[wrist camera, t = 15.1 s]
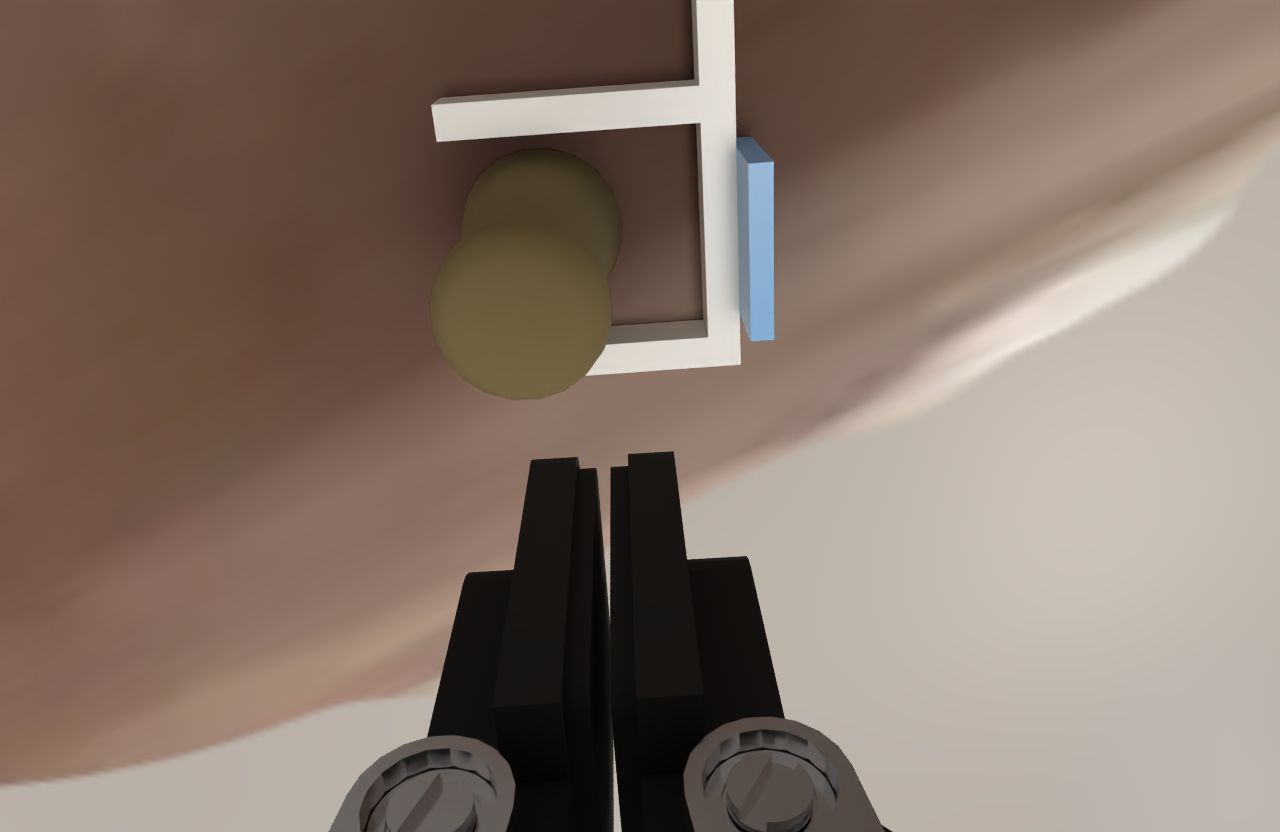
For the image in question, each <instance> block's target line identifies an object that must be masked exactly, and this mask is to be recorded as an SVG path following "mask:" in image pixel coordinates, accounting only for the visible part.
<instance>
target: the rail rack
mask: <svg viewBox="0 0 1280 832" xmlns="http://www.w3.org/2000/svg"><path fill="white" fill-rule="evenodd" d="M691 3H692V30H693V57H694V80H680V81H666V82H652V83H638V84H624V85H610V86H596V87H583V88H569V89H555V90H541V91H527V92H513V93H499V94H485V95H472V96H458V97H444V98H440V99H438V100H437V101H436V102H434V103H433V104H432V105H431V108H432V114H433V121H434V127H435V133H436V140H437V142H441V141H455V140H469V139H483V138H497V137H511V136H525V135H538V134H552V133H566V132H580V131H594V130H608V129H622V128H636V127H649V126H663V125H677V124H691V123H696V137H697V164H698V191H699V218H700V245H701V271H702V298H703V320H689V321H675V322H661V323H647V324H634V325H620V326H611V329H610V333H609V336H608V339H607V343H606V346H605V349H604V351H603V352H602V354H601V355H600V356H599V358H598V359H597V361H596V362H595V363H594V365H593V366H592V368H591V369H590V370H589V372H588V373H587V374H586V375H585V376H588V375H602V374H616V373H630V372H644V371H658V370H671V369H685V368H699V367H713V366H727V365H741V362H740V315H741V317H742V320H743V323H744V325H745V328H746V330H747V333H748V336H749V338H750V341H763V340H774V162H773V160H772V159H771V158H770V157H769V156H768V155H767V154H766V153H765V151H764V150H763V149H762V148H761V147H760V146H759V145H758V143H757V142H756V141H755V140H754V139H753V138H752V137H737V138H736V102H735V49H734V0H691Z"/></svg>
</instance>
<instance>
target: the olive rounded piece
mask: <svg viewBox="0 0 1280 832" xmlns="http://www.w3.org/2000/svg"><path fill="white" fill-rule="evenodd" d="M621 242H622V223H621V213H620V210H619V208H618V205H617V202H616V199H615V197H614V194H613V191H612V190H611V189H610V187H609V186H608V185H607V183H606V182H605V181H604V180H603V178H602V177H601V176H600V174H599V173H598V172H597V171H596V170H595V169H593V168H592V167H590V166H589V165H588V164H586V163H585V162H583V161H582V160H580V159H579V158H577V157H576V156H573V155H570V154H567V153H563V152H560V151H557V150H553V149H523V150H521V151H518V152H515V153H513V154H510V155H507V156H505V157H502V158H500V159H498V160H497V161H496V162H495V163H494V164H492V165H491V166H490V167H489V168H487V169H486V170H485V171H484V172H483V173H481V174H480V176H479V177H478V179H477V181H476V182H475V184H474V186H473V187H472V189H471V191H470V192H469V194H468V196H467V200H466V204H465V209H464V213H463V218H462V231H461V241H460V242H459V243H457V244H456V245H455V246H454V247H453V248H452V249H451V251H450V252H449V254H448V255H447V257H446V259H445V260H444V262H443V264H442V265H441V267H440V268H439V270H438V272H437V273H436V275H435V277H434V282H433V287H432V291H431V296H430V301H429V307H430V315H431V322H432V330H433V335H434V338H435V340H436V342H437V344H438V346H439V348H440V350H441V352H442V354H443V357H444V359H445V360H446V362H447V363H448V364H449V365H450V366H451V367H452V368H453V369H454V370H455V371H456V372H457V373H458V374H459V375H460V376H461V378H462V379H463V380H465V381H466V382H468V383H470V384H472V385H473V386H475V387H477V388H478V389H480V390H482V391H484V392H485V393H487V394H491V395H495V396H499V397H503V398H507V399H511V400H530V399H542V398H545V397H548V396H551V395H553V394H556V393H559V392H562V391H565V390H566V389H568V388H569V387H570V386H572V385H573V384H574V383H576V382H577V381H579V380H580V379H581V378H583V377H584V376H585V375H586V374H587V373H588V372H589V370H590V369H591V368H592V366H593V365H594V363H595V362H596V361H597V359H598V358H599V356H600V355H601V354H602V352H603V351H604V349H605V346H606V343H607V339H608V336H609V333H610V329H611V326H612V312H611V291H610V288H609V285H608V283H607V279H608V277H609V275H610V273H611V271H612V269H613V267H614V265H615V262H616V259H617V255H618V252H619V249H620V245H621Z"/></svg>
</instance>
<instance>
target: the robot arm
mask: <svg viewBox="0 0 1280 832" xmlns="http://www.w3.org/2000/svg"><path fill="white" fill-rule="evenodd" d="M610 559H611V560H610V618H609V606H608V596H607V595H608V594H607V582H606V571H605V559H604V547H603V535H602V523H601V511H600V500H599V488H598V477H597V469H596V468H588V469H580V466H579V460H578V457H570V458H553V459H536V460H531V464H530V470H529V476H528V482H527V489H526V495H525V501H524V508H523V514H522V520H521V527H520V533H519V539H518V546H517V552H516V558H515V565H514V570H505V571H488V572H471V573H468V574H467V575H466V577H465V580H464V583H463V586H462V590H461V595H460V599H459V603H458V608H457V612H456V616H455V620H454V625H453V629H452V633H451V638H450V642H449V646H448V650H447V655H446V659H445V663H444V667H443V672H442V676H441V680H440V685H439V689H438V693H437V697H436V702H435V706H434V710H433V714H432V719H431V723H430V727H429V732H428V736H427V738H424V739H420V740H417V741H414V742H410V743H407V744H404V745H402V746H400V747H398V748H397V749H395V750H393V751H391V752H389V753H387V754H386V755H384V756H382V757H380V758H379V759H378V760H377V761H376V762H375V763H373V764H372V765H371V766H370V767H369V768H368V769H367V770H366V771H364V772H363V773H362V774H361V775H360V777H359V778H358V780H357V781H356V783H355V784H354V785H353V787H352V788H351V790H350V791H349V793H348V794H347V796H346V798H345V800H344V802H343V804H342V806H341V808H340V810H339V812H338V814H337V816H336V818H335V820H334V822H333V824H332V826H331V828H330V830H329V832H614V831H613V829H614V827H613V826H614V823H613V821H614V816H613V815H614V812H613V811H614V809H613V808H614V807H613V806H614V803H613V802H614V798H613V739H614V750H615V761H616V772H617V784H618V794H619V805H620V816H621V817H620V818H621V829H622V832H892V831H890V830H889V829H887V828H886V827H884V826H882V825H881V823H880V821H879V819H878V817H877V815H876V813H875V811H874V809H873V807H872V805H871V803H870V801H869V799H868V797H867V795H866V793H865V791H864V789H863V786H862V785H861V782H860V781H859V778H858V776H857V774H856V772H855V770H854V768H853V766H852V764H851V763H850V762H849V760H848V759H847V757H846V756H845V755H844V753H843V752H842V750H841V749H840V748H839V746H838V745H836V744H835V743H834V742H832V741H831V740H830V739H829V738H827V737H826V736H825V735H823V734H822V733H821V732H820V731H818V730H815V729H813V728H811V727H808V726H806V725H804V724H801V723H799V722H797V721H793V720H787V719H785V717H784V713H783V708H782V704H781V699H780V695H779V690H778V686H777V682H776V677H775V673H774V668H773V664H772V659H771V655H770V650H769V646H768V642H767V637H766V633H765V628H764V624H763V619H762V615H761V610H760V606H759V602H758V598H757V593H756V588H755V584H754V579H753V575H752V570H751V566H750V563H749V559H748V558H747V556H743V557H742V556H741V557H726V558H725V557H724V558H707V559H691V560H687V556H686V548H685V539H684V531H683V523H682V515H681V507H680V499H679V491H678V483H677V475H676V466H675V458H674V452H673V451H672V452H655V453H638V454H628V466H622V467H611V511H610Z"/></svg>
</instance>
